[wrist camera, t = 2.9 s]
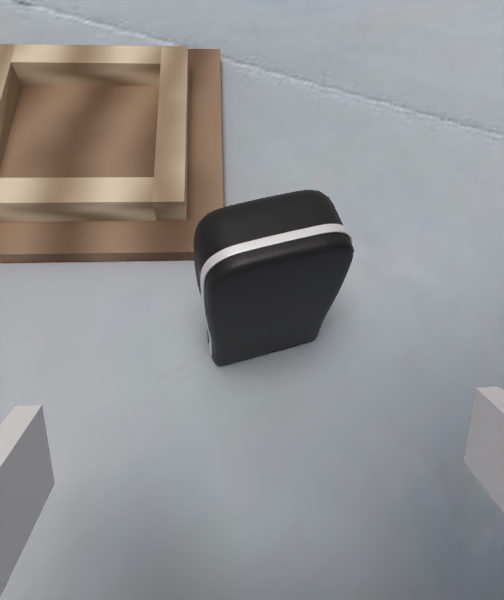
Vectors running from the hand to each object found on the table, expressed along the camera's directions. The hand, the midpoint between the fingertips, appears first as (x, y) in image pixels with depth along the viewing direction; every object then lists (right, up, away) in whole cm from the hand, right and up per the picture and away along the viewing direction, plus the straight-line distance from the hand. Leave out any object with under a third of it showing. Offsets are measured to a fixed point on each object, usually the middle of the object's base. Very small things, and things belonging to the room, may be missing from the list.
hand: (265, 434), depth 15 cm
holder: (-13, +16, +21) cm, 29 cm away
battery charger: (0, +2, +15) cm, 16 cm away
